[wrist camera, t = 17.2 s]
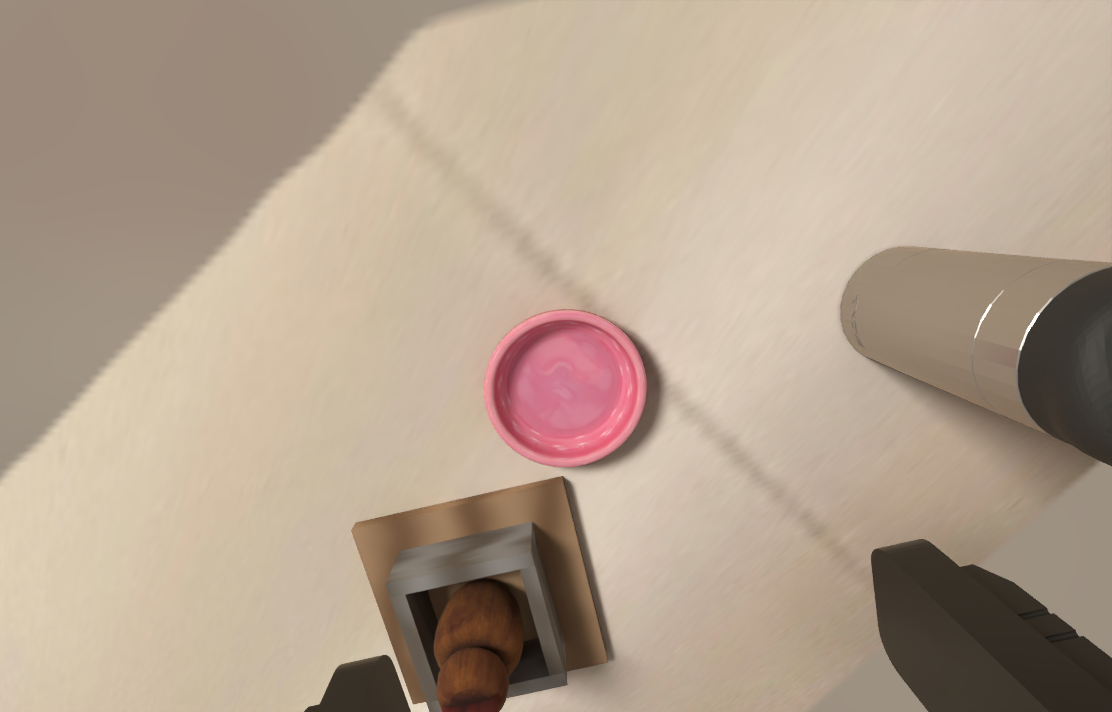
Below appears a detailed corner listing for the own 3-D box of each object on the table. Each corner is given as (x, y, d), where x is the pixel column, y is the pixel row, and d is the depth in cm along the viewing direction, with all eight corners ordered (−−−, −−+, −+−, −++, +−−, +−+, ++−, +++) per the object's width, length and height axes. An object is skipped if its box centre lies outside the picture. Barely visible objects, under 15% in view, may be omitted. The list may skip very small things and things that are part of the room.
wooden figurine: (529, 574, 49) (524, 727, 34) (519, 631, 50) (510, 803, 35) (450, 564, 48) (411, 714, 34) (441, 622, 49) (400, 791, 35)
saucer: (639, 300, 45) (647, 306, 42) (642, 448, 48) (649, 463, 45) (481, 309, 44) (477, 315, 41) (493, 456, 47) (490, 473, 44)
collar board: (562, 476, 48) (565, 510, 42) (606, 652, 52) (614, 704, 46) (355, 522, 48) (331, 562, 43) (415, 693, 53) (401, 749, 47)
